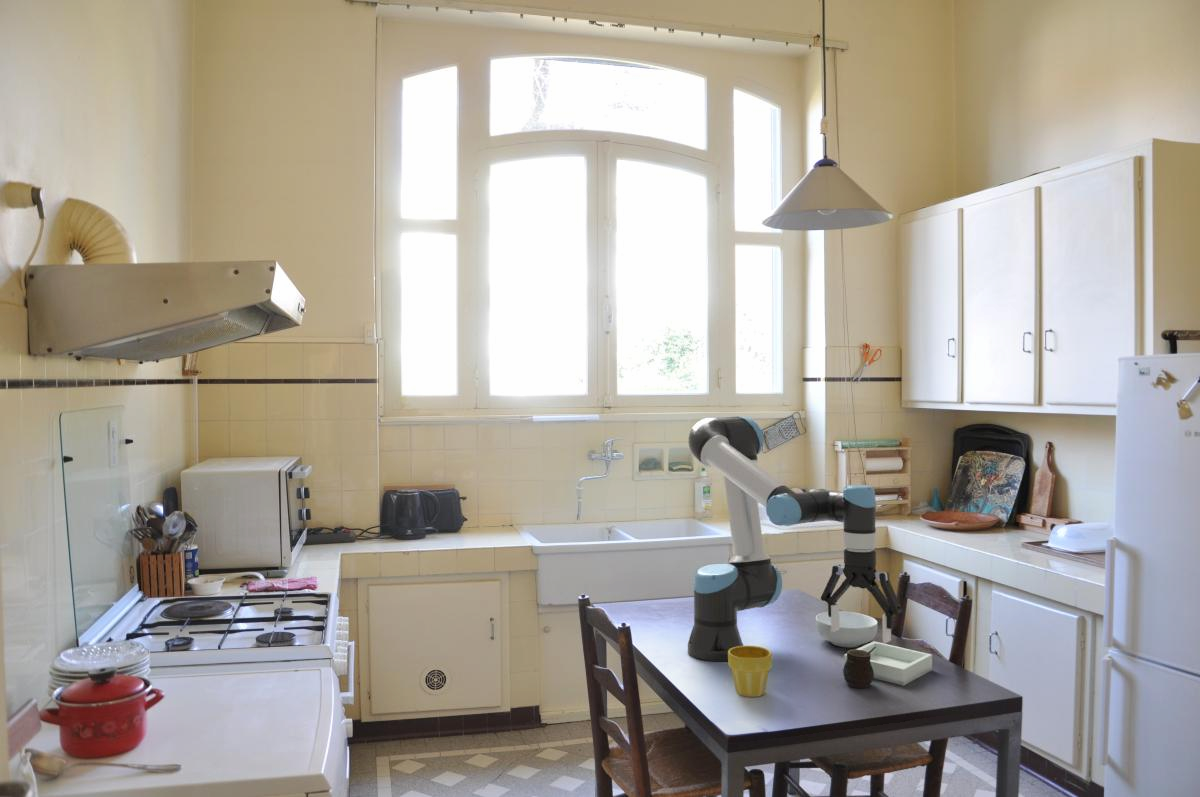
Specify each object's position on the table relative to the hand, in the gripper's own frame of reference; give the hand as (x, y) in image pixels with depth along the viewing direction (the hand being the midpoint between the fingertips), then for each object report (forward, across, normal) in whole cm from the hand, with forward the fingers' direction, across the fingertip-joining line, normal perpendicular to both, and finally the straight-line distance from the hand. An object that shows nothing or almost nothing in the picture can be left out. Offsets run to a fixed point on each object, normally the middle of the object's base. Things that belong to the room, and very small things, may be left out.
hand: (860, 636), depth 208 cm
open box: (+12, +1, -15) cm, 19 cm away
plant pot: (+12, +17, +23) cm, 31 cm away
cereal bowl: (+12, +20, -28) cm, 36 cm away
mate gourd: (+12, +1, 0) cm, 12 cm away
